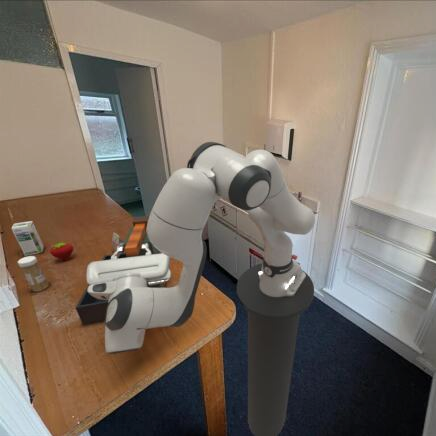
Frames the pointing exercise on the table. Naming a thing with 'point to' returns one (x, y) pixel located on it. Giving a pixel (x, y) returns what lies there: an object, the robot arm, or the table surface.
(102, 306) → the drawer
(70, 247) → the strawberry
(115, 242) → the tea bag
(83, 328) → the table surface
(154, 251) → the pedestal
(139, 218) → the orange bar brown end
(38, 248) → the syrup box
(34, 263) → the sprinkles bottle
